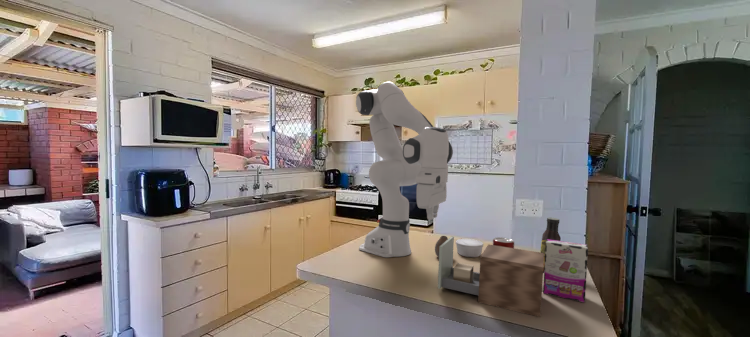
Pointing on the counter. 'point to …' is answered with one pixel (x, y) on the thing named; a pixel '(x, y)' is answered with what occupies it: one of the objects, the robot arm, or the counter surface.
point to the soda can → (503, 242)
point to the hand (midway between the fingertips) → (432, 218)
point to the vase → (439, 243)
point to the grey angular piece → (448, 271)
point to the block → (463, 273)
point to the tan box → (511, 279)
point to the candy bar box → (565, 270)
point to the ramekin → (469, 247)
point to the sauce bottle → (550, 234)
